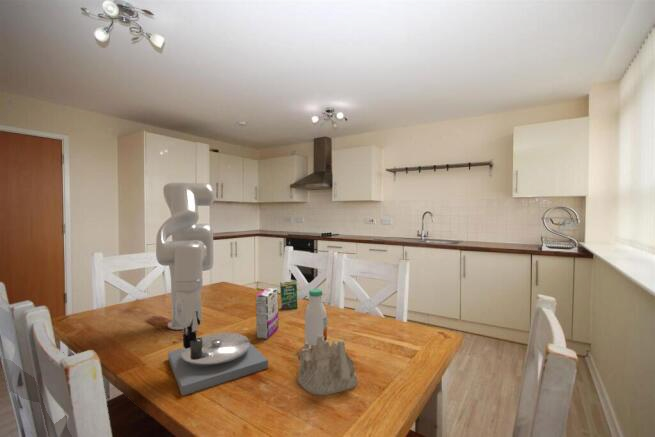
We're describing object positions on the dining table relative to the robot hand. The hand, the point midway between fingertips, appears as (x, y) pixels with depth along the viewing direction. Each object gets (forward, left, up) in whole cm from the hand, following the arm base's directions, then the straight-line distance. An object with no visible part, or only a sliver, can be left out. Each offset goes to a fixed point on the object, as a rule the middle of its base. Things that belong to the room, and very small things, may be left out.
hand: (189, 346), depth 91 cm
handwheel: (-1, +8, -4) cm, 9 cm away
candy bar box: (-14, +31, -8) cm, 35 cm away
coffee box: (-36, +52, -8) cm, 63 cm away
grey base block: (-1, +8, -8) cm, 11 cm away
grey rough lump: (+26, +31, -8) cm, 42 cm away
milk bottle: (+7, +40, -8) cm, 41 cm away
